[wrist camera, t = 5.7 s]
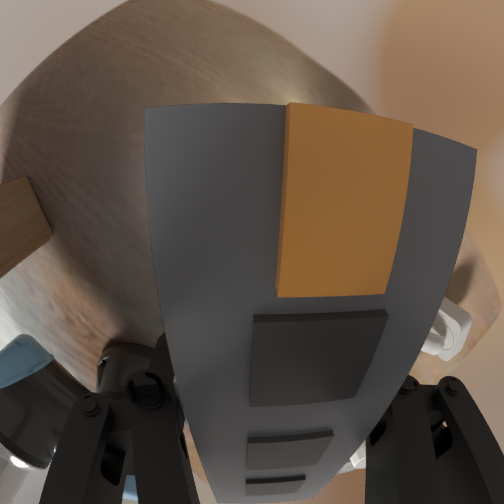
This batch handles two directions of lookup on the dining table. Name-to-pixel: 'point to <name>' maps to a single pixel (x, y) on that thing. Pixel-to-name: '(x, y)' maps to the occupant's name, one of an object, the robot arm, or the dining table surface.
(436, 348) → the wall hook
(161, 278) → the grey slotted block
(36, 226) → the wooden block
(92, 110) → the dining table surface
